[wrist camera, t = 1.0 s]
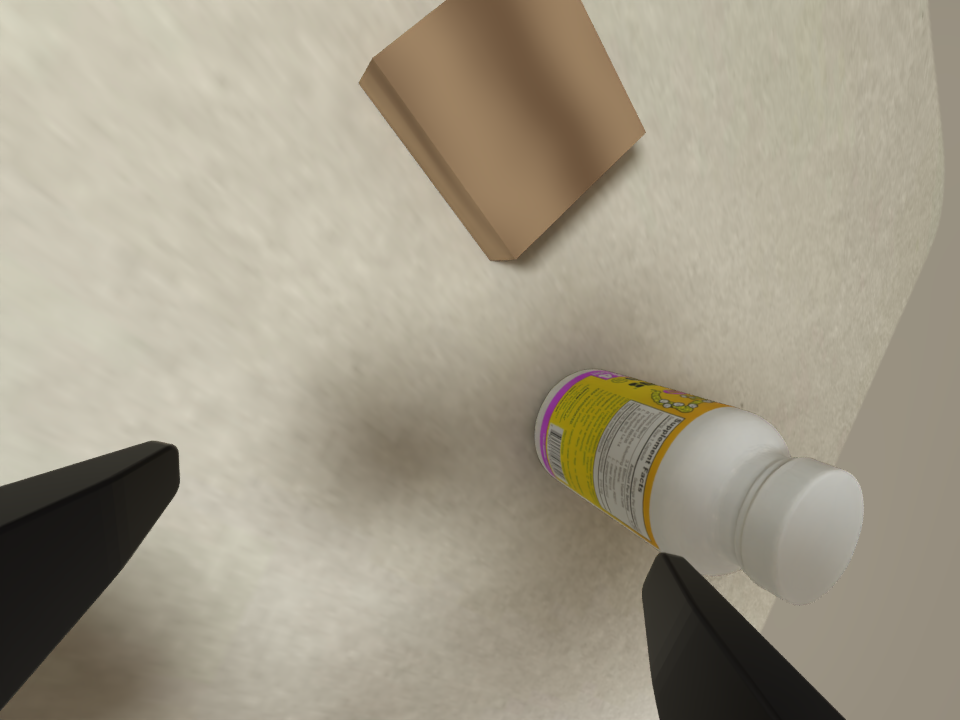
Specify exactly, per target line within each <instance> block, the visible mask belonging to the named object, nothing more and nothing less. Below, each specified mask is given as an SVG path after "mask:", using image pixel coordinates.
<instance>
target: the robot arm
mask: <svg viewBox="0 0 960 720" xmlns="http://www.w3.org/2000/svg"><path fill="white" fill-rule="evenodd" d="M179 484H180V472H179V452H178V449H177V447H176V446H175V445H173V444H168V443H164V442H159V441H148V442H145V443H142V444H138V445H135V446H132V447H129V448H125V449H122V450H119V451H115V452H112V453H109V454H106V455H102V456H99V457H96V458H92V459H89V460H86V461H83V462H79V463H76V464H73V465H70V466H66V467H63V468H60V469H56V470H53V471H50V472H47V473H43V474H40V475H37V476H33V477H30V478H27V479H24V480H20V481H17V482H14V483H10V484H7V485H4V486H1V487H0V711H1V710H2V708H3V707H4V706H5V705H6V704H7V703H8V701H9V700H10V699H11V698H12V697H13V696H14V694H15V693H16V692H17V691H18V690H19V689H20V688H21V686H22V685H23V684H24V683H25V682H26V681H27V679H28V678H29V677H30V676H31V675H32V674H33V672H34V671H35V670H36V669H37V668H38V667H39V665H40V664H41V663H42V662H43V661H44V660H45V659H46V657H47V656H48V655H49V654H50V653H51V652H52V650H53V649H54V648H55V647H56V646H57V645H58V643H59V642H60V641H61V640H62V639H63V638H64V636H65V635H66V634H67V633H68V632H69V631H70V630H71V628H72V627H73V626H74V625H75V624H76V623H77V621H78V620H79V619H80V618H81V617H82V616H83V614H84V613H85V612H86V611H87V610H88V609H89V607H90V606H91V605H92V604H93V603H94V602H95V601H96V599H97V598H98V597H99V596H100V595H101V594H102V592H103V591H104V590H105V589H106V588H107V587H108V585H109V584H110V583H111V582H112V581H113V580H114V578H115V577H116V576H117V575H118V573H119V572H120V571H121V570H122V569H123V567H124V566H125V565H126V563H127V562H128V561H129V559H130V558H131V557H132V555H133V554H134V552H135V551H136V550H137V548H138V547H139V545H140V544H141V543H142V541H143V540H144V538H145V537H146V536H147V534H148V533H149V531H150V530H151V528H152V527H153V526H154V524H155V523H156V521H157V520H158V519H159V517H160V516H161V514H162V513H163V512H164V510H165V509H166V507H167V506H168V505H169V503H170V502H171V500H172V499H173V497H174V496H175V494H176V493H177V490H178V488H179ZM642 601H643V610H644V618H645V627H646V636H647V645H648V654H649V662H650V671H651V678H652V685H653V690H654V695H655V700H656V705H657V709H658V714H659V719H660V720H846V719H845V718H844V717H843V716H842V715H841V714H840V713H839V712H838V711H837V710H836V709H835V708H834V707H833V706H832V705H831V704H830V703H829V702H828V701H827V700H826V699H825V698H824V697H823V696H822V695H821V694H820V693H819V692H818V691H817V690H816V689H815V688H814V687H813V686H812V685H811V684H810V683H809V682H808V681H807V680H806V679H805V678H804V677H803V676H802V675H801V674H800V673H799V672H798V671H797V670H796V669H795V668H794V667H793V666H792V665H791V664H790V663H789V662H788V661H787V660H786V659H785V658H784V657H783V656H782V655H781V654H780V653H779V652H778V651H777V650H776V649H775V648H774V647H773V646H772V645H771V644H770V643H769V642H768V641H767V640H766V639H765V638H764V637H763V636H762V635H761V634H760V633H759V632H758V631H757V630H756V629H755V628H754V627H753V626H752V625H751V624H750V623H749V622H748V621H747V620H746V619H745V618H744V617H743V616H742V615H741V614H740V613H739V612H738V611H737V610H736V609H735V608H734V607H733V606H732V605H731V604H730V603H729V602H728V601H727V600H726V599H725V598H724V597H723V596H722V595H721V594H720V593H719V592H718V591H717V590H716V589H715V588H714V587H713V586H712V585H711V584H710V583H709V582H708V581H707V580H706V579H705V578H704V577H703V576H702V575H701V574H700V573H699V572H698V571H697V570H696V569H695V568H694V567H693V566H692V565H691V564H690V563H689V562H688V561H687V560H686V559H685V558H684V557H682V556H679V555H675V554H670V553H665V552H661V553H659V554H658V555H657V556H656V558H655V560H654V562H653V564H652V566H651V569H650V571H649V573H648V575H647V577H646V579H645V581H644V584H643V588H642Z"/></svg>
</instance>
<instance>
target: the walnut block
mask: <svg viewBox="0 0 960 720" xmlns="http://www.w3.org/2000/svg"><path fill="white" fill-rule="evenodd" d="M359 84H360V86H361V87H362V88H363V90H364V91H365V92H366V94H367V95H368V96H369V98H370V99H371V101H372V102H373V103H374V105H375V106H376V107H377V109H378V110H379V111H380V113H381V114H382V115H383V117H384V118H385V119H386V121H387V122H388V123H389V125H390V126H391V128H392V129H393V130H394V132H395V133H396V134H397V136H398V137H399V138H400V140H401V141H402V142H403V144H404V145H405V146H406V148H407V149H408V150H409V152H410V153H411V155H412V156H413V157H414V159H415V160H416V161H417V163H418V164H419V165H420V167H421V168H422V169H423V171H424V172H425V173H426V175H427V176H428V177H429V179H430V180H431V182H432V183H433V184H434V186H435V187H436V188H437V190H438V191H439V192H440V194H441V195H442V196H443V198H444V199H445V200H446V202H447V203H448V204H449V206H450V207H451V209H452V210H453V211H454V213H455V214H456V215H457V217H458V218H459V219H460V221H461V222H462V223H463V225H464V226H465V227H466V229H467V230H468V231H469V233H470V234H471V236H472V237H473V238H474V240H475V241H476V242H477V244H478V245H479V246H480V248H481V249H482V250H483V252H484V253H485V254H486V256H487V257H488V258H489V260H516V259H517V258H518V257H519V256H520V255H521V254H522V253H523V252H524V251H525V250H526V249H527V248H528V247H529V246H530V245H531V244H532V243H533V242H534V241H535V240H536V239H537V238H538V237H539V236H540V235H541V234H542V233H543V232H545V231H546V230H547V229H548V228H549V227H550V226H551V225H552V224H553V223H554V222H555V221H556V220H557V219H558V218H559V217H560V216H561V215H562V214H563V213H564V212H565V211H566V210H567V209H568V208H569V207H570V206H571V205H572V204H573V203H574V202H575V201H576V200H577V199H578V198H579V197H580V196H581V195H582V194H583V193H584V192H585V191H587V190H588V189H589V188H590V187H591V186H592V185H593V184H594V183H595V182H596V181H597V180H598V179H599V178H600V177H601V176H602V175H603V174H604V173H605V172H606V171H607V170H608V169H609V168H610V167H611V166H612V165H613V164H614V163H615V162H616V161H617V160H618V159H619V158H620V157H621V156H622V155H623V154H624V153H625V152H626V151H627V150H628V149H630V148H631V147H632V146H633V145H634V144H635V143H636V142H637V141H638V140H639V139H640V138H641V137H642V136H643V135H644V134H645V133H646V132H645V130H644V127H643V125H642V123H641V121H640V119H639V117H638V115H637V113H636V111H635V109H634V107H633V105H632V103H631V101H630V99H629V97H628V95H627V93H626V91H625V89H624V87H623V85H622V83H621V81H620V79H619V77H618V75H617V73H616V71H615V69H614V67H613V65H612V63H611V61H610V59H609V56H608V54H607V52H606V50H605V48H604V46H603V44H602V42H601V40H600V38H599V36H598V34H597V32H596V30H595V28H594V26H593V24H592V22H591V20H590V18H589V16H588V14H587V12H586V10H585V8H584V6H583V4H582V2H581V0H446V1H445V2H443V3H442V4H441V5H439V6H438V7H437V8H436V9H434V10H433V11H432V12H431V13H429V14H428V15H427V16H425V17H424V18H423V19H422V20H420V21H419V22H418V23H417V24H415V25H414V26H413V27H411V28H410V29H409V30H408V31H406V32H405V33H404V34H403V35H401V36H400V37H399V38H397V39H396V40H395V41H394V42H392V43H391V44H390V45H389V46H387V47H386V48H385V49H383V50H382V51H381V52H380V53H378V54H377V55H376V56H375V57H373V58H372V60H371V62H370V64H369V65H368V67H367V69H366V71H365V72H364V74H363V76H362V78H361V80H360V81H359Z"/></svg>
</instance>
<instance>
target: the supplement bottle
mask: <svg viewBox="0 0 960 720" xmlns="http://www.w3.org/2000/svg"><path fill="white" fill-rule="evenodd" d="M535 447H536V451H537V454H538V457H539V460H540V462H541V463H542V465H543V467H544V468H545V469H546V471H547V472H548V473H549V474H550V475H551V476H552V477H554V478H555V479H556V480H558V481H559V482H560V483H562V484H563V485H565V486H566V487H568V488H569V489H570V490H572V491H573V492H575V493H576V494H577V495H579V496H580V497H582V498H583V499H585V500H586V501H588V502H589V503H591V504H592V505H593V506H595V507H596V508H598V509H599V510H601V511H602V512H604V513H605V514H607V515H608V516H610V517H611V518H612V519H614V520H615V521H617V522H618V523H620V524H621V525H623V526H624V527H625V528H627V529H628V530H630V531H631V532H633V533H634V534H635V535H637V536H638V537H640V538H641V539H643V540H644V541H646V542H647V543H648V544H650V545H651V546H653V547H654V548H655V549H657V550H658V551H660V552H665V553H670V554H675V555H679V556H682V557H684V558H685V559H686V560H687V561H688V562H689V563H690V564H691V565H692V566H693V567H694V568H695V569H696V570H697V571H698V572H699V573H700V574H701V575H707V576H721V575H727V574H731V573H734V572H737V571H739V570H741V569H742V570H743V571H744V572H745V573H746V574H747V575H748V576H749V578H750V579H751V580H752V581H753V582H754V583H755V584H757V585H758V586H760V587H762V588H763V589H765V590H767V591H769V592H770V593H772V594H774V595H775V596H777V597H779V598H780V599H782V600H784V601H786V602H788V603H790V604H793V605H807V604H810V603H812V602H815V601H816V600H818V599H819V598H821V597H822V596H823V595H825V594H826V593H827V592H828V591H829V590H830V589H831V588H832V587H833V586H834V584H835V583H836V582H837V581H838V580H839V578H840V577H841V575H842V574H843V572H844V570H845V569H846V567H847V566H848V564H849V562H850V560H851V557H852V555H853V553H854V550H855V548H856V545H857V541H858V538H859V535H860V532H861V528H862V523H863V516H864V503H863V495H862V491H861V487H860V484H859V483H858V481H857V480H856V478H855V477H854V476H853V475H852V474H850V473H849V472H847V471H845V470H843V469H840V468H837V467H834V466H831V465H829V464H826V463H823V462H821V461H818V460H816V459H813V458H809V457H800V458H798V457H792V458H791V455H790V452H789V449H788V446H787V444H786V443H785V441H784V439H783V437H782V436H781V434H780V433H779V431H778V430H777V429H776V428H775V427H774V426H773V425H772V424H771V423H769V422H768V421H767V420H765V419H764V418H762V417H761V416H759V415H757V414H755V413H752V412H749V411H746V410H742V409H740V408H736V407H733V406H729V405H725V404H722V403H718V402H714V401H711V400H707V399H704V398H701V397H697V396H693V395H690V394H686V393H683V392H679V391H676V390H673V389H669V388H665V387H662V386H658V385H655V384H652V383H648V382H645V381H642V380H638V379H634V378H630V377H627V376H624V375H620V374H617V373H613V372H608V371H604V370H599V369H588V370H582V371H578V372H575V373H573V374H571V375H569V376H567V377H565V378H564V379H563V380H561V381H560V382H559V383H558V384H557V385H556V386H554V387H553V389H552V390H551V391H550V392H549V394H548V395H547V397H546V398H545V400H544V402H543V404H542V406H541V408H540V410H539V413H538V416H537V420H536V424H535Z"/></svg>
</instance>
